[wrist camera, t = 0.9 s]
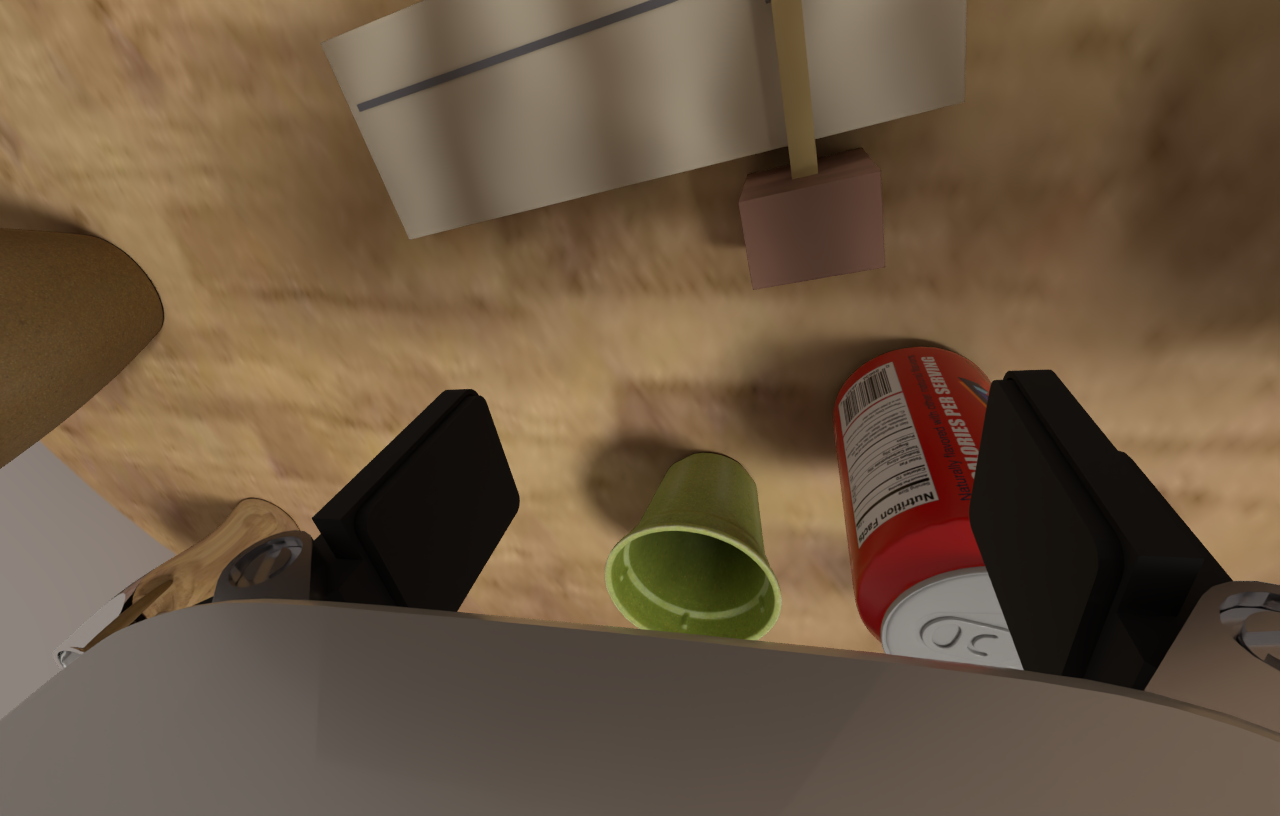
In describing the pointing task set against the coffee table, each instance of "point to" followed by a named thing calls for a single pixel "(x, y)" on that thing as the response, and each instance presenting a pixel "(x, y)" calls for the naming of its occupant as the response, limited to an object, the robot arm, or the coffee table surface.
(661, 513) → the plant pot
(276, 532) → the beer glass
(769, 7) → the board
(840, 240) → the cube with stick handle
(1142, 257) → the coffee table surface
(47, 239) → the plant pot
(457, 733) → the robot arm
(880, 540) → the soda can
